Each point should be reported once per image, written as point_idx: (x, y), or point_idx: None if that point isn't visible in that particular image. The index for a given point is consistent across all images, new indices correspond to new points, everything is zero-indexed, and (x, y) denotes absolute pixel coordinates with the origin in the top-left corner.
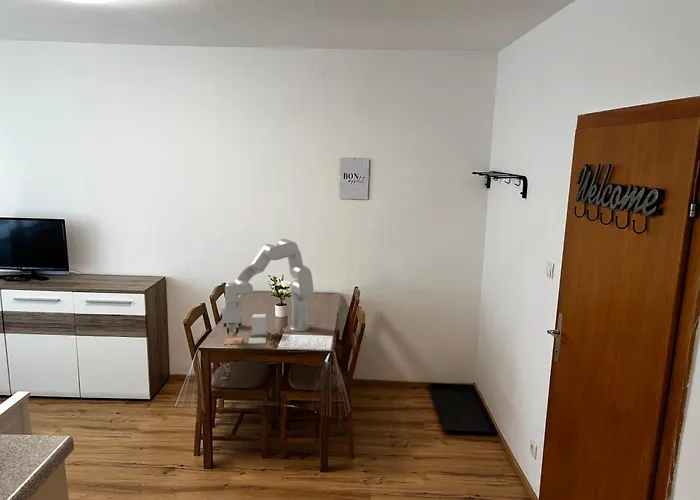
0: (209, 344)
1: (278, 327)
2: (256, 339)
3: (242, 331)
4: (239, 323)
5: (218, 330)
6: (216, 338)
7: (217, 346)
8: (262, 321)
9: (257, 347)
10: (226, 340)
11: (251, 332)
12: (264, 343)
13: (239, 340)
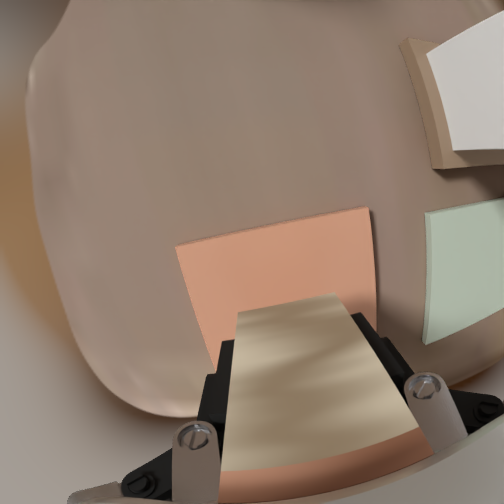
0: (107, 366)
1: (495, 10)
2: (478, 250)
3: (297, 6)
4: (468, 429)
5: (64, 41)
6: (89, 232)
7: (183, 401)
8: None
9: (461, 367)
10: (212, 310)
11: (425, 80)
12: (502, 304)
13: (352, 296)
